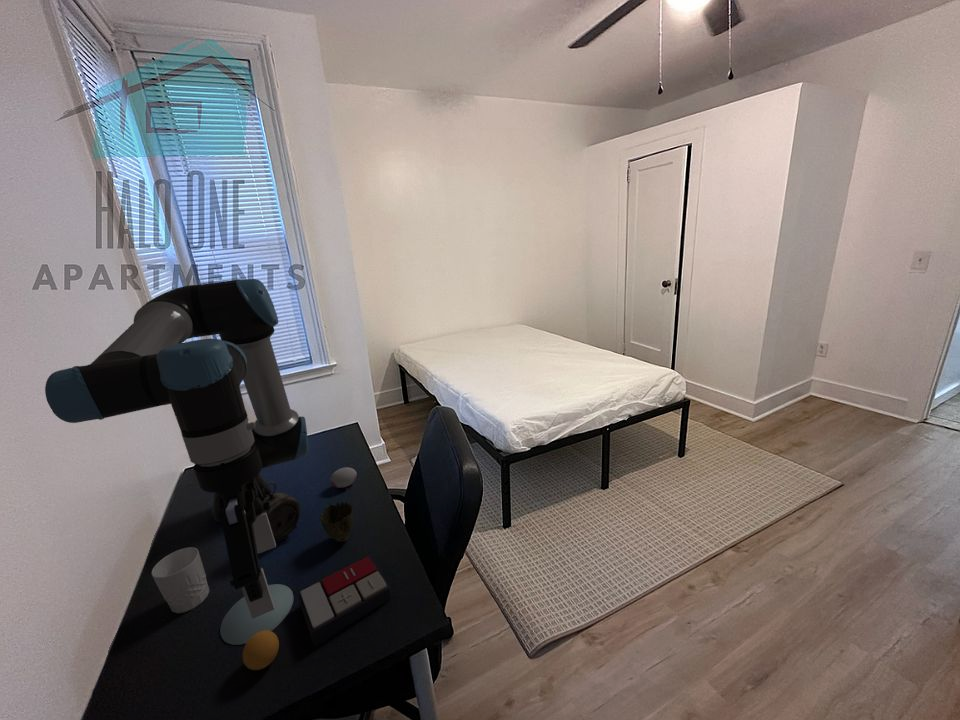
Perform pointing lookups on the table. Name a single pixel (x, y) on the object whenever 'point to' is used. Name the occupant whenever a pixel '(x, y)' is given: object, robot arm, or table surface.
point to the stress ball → (343, 477)
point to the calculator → (343, 599)
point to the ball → (260, 650)
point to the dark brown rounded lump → (338, 521)
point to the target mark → (243, 627)
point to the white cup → (181, 579)
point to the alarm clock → (281, 513)
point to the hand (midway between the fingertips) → (265, 577)
